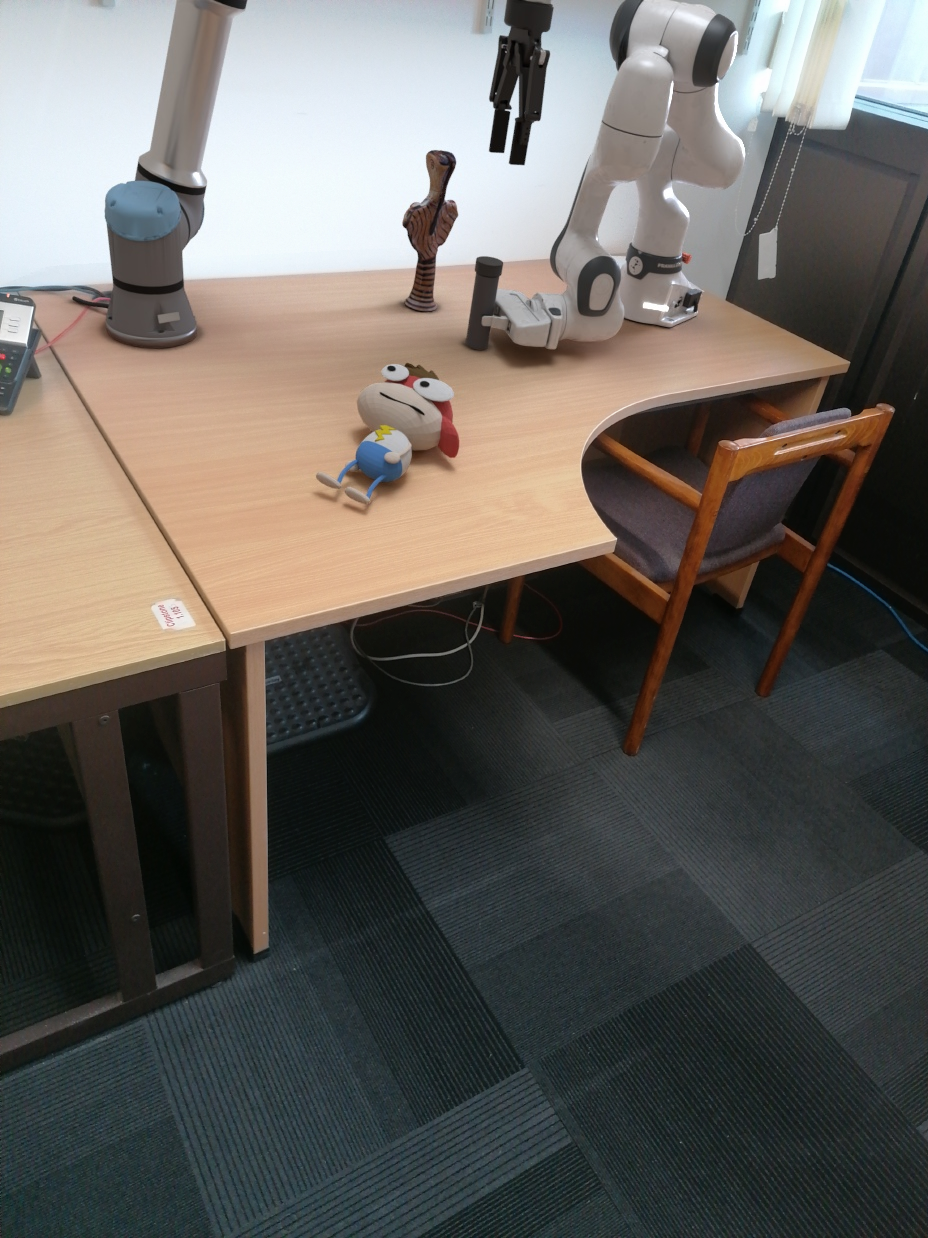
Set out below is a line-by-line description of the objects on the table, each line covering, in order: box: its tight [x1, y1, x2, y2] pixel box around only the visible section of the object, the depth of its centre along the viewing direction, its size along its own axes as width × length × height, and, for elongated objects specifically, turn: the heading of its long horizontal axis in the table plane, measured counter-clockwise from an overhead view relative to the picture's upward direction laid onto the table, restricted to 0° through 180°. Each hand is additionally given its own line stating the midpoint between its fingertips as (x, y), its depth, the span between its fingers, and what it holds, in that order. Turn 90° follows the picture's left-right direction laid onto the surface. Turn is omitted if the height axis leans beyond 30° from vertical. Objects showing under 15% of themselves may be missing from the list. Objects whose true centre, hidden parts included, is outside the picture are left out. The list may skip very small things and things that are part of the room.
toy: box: [315, 362, 460, 505], centre depth 132 cm, size 18×10×30 cm
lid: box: [474, 255, 504, 278], centre depth 165 cm, size 5×5×2 cm
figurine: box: [401, 149, 459, 312], centre depth 178 cm, size 15×8×30 cm, turn 144°
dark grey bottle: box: [465, 272, 500, 351], centre depth 170 cm, size 4×4×16 cm
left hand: (506, 157), depth 154 cm, fingers open, 7 cm apart
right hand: (477, 313), depth 170 cm, fingers closed on dark grey bottle, 4 cm apart
